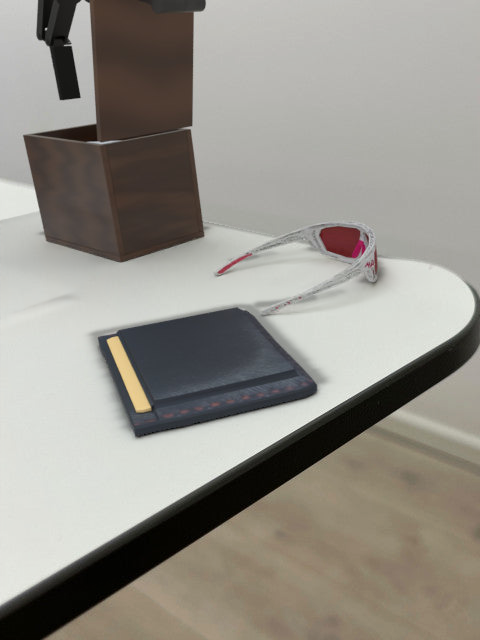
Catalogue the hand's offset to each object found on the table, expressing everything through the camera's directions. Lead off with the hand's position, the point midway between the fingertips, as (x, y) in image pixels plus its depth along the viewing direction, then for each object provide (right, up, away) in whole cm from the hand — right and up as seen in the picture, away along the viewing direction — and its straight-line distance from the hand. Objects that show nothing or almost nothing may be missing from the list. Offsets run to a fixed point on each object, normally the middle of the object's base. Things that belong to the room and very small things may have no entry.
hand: (99, 102), depth 98 cm
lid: (+8, +3, -9) cm, 12 cm away
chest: (+1, -16, +7) cm, 18 cm away
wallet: (+19, -34, -31) cm, 50 cm away
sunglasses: (+27, -24, -11) cm, 38 cm away
